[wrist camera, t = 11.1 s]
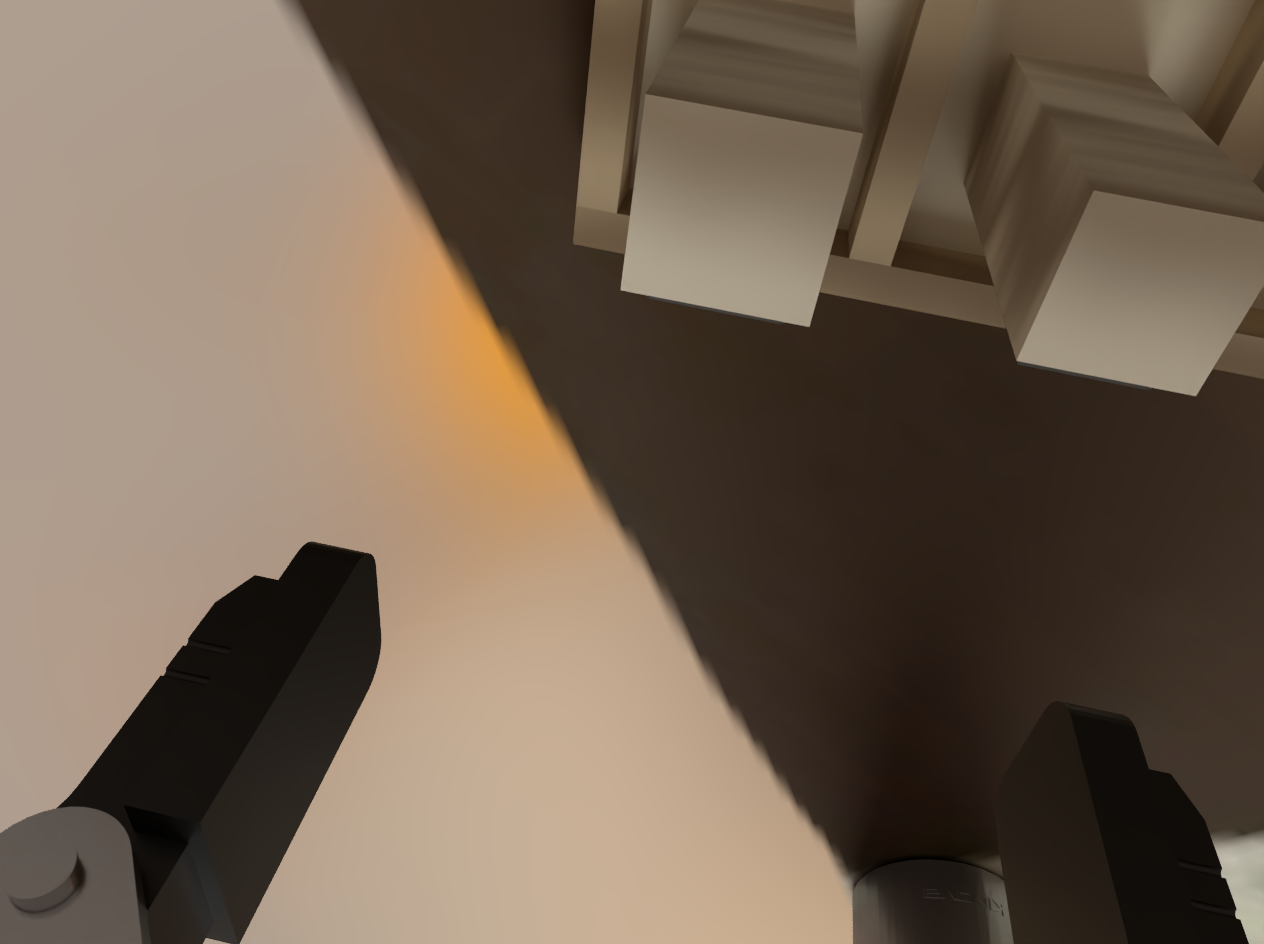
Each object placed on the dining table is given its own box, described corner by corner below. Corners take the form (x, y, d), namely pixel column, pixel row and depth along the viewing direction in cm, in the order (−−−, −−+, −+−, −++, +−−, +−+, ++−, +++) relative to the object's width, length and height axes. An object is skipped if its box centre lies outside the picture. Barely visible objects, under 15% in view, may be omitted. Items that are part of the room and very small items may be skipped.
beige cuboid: (812, 181, 27) (802, 351, 19) (679, 157, 28) (617, 315, 20) (854, 13, 24) (862, 133, 17) (705, -13, 25) (645, 94, 17)
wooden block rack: (1374, 343, 29) (1627, 617, 20) (599, 194, 31) (496, 385, 21) (1594, 41, 24) (2089, 227, 14) (633, -123, 25) (513, -52, 16)
